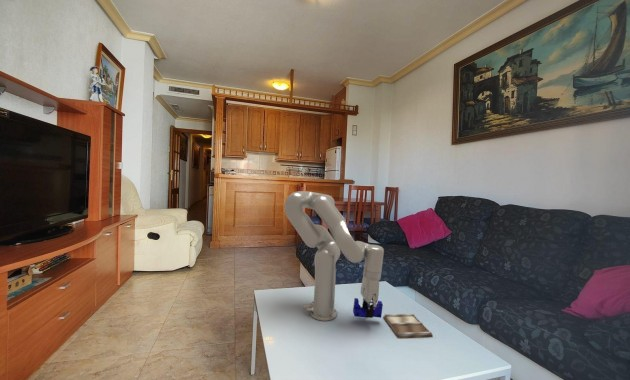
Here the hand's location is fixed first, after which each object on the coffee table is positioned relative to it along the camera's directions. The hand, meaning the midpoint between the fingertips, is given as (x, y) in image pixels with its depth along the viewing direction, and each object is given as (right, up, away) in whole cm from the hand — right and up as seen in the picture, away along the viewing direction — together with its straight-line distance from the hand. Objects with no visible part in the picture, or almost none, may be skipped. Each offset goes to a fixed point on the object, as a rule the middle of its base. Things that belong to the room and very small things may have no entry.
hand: (367, 313), depth 115 cm
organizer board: (+17, -5, -2) cm, 17 cm away
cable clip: (0, -1, 0) cm, 1 cm away
